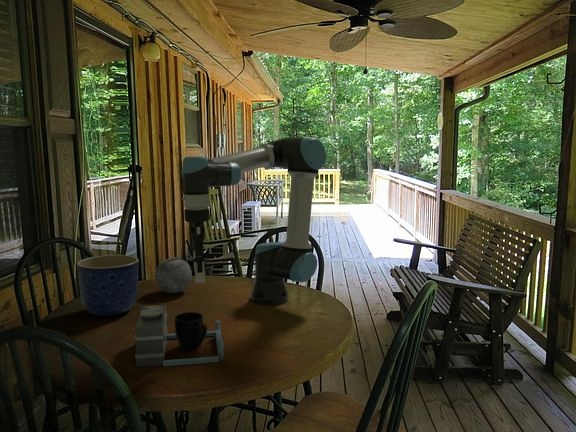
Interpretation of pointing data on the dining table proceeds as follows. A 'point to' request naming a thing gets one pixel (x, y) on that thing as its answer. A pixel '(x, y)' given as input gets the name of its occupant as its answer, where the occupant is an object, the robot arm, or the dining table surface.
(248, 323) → the dining table surface
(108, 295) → the planter
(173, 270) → the decorative orb
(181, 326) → the mug
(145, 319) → the grey stepped block
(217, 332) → the clip bracket
